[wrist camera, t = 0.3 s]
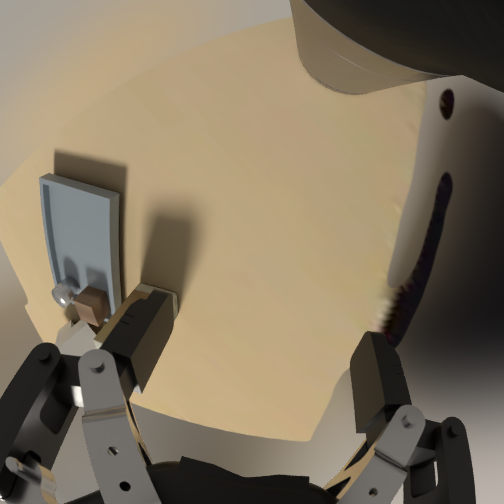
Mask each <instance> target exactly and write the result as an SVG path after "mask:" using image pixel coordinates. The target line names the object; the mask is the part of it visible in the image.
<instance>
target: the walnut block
mask: <svg viewBox="0 0 504 504" xmlns="http://www.w3.org/2000/svg"><path fill="white" fill-rule="evenodd" d="M73 302H74V304H75V307H76V309H77V312H78V315H79V317H80V319H81V320H83V321H85V322H88V323H90V324H93V325H95V326H98V327H99V326H100V325H101V323H102V322H103V321H104V320H105V318H106V317H107V316H108V315H109V313H110V312H111V307H110V304H109V301H108V297H107V294H106V291H103V290H100V289H97V288H94V287H91V286H86V288H85V289H84V290H83V291H82V292H81V293H80V294H79V295H78V296H77V297H76V298H75V299H74V300H73Z"/></svg>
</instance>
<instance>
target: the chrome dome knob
mask: <svg viewBox="0 0 504 504" xmlns="http://www.w3.org/2000/svg"><path fill="white" fill-rule="evenodd" d="M80 292H81V289H80V286H79V284H78V282H77V281H76V280H75V279H74V278H73V277H71V276H67V277H66V278H65V279H63V280H62V281H61V282H60V283H59V284H58V285H57V286H56V287H55V288H54V289H53V290H52V296H53V298H54V300H55V301H56V302H57V303H58V304H59V305H60V306H61V307H63V308H66V307H67V306H68V305H69V304H70V303H71V301H72V300H73V299H74V298H75V297H76V296H77V295H78V294H79V293H80Z"/></svg>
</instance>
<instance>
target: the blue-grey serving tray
mask: <svg viewBox="0 0 504 504" xmlns="http://www.w3.org/2000/svg"><path fill="white" fill-rule="evenodd" d="M39 180H40V196H41V207H42V217H43V225H44V232H45V239H46V245H47V250H48V256H49V261H50V266H51V271H52V275H53V279H54V284H55V287H56V286H57V285H58V284H59V283H60V282H61V281H62V280H63V279H65V278H66V277H67V276H71V277H73V278H74V279H75V280H76V281H77V282H78V284H79V286H80V289H81V292H82V291H83V290H84V289H85V288H86V286H91V287H94V288H97V289H100V290H103V291H106V294H107V297H108V301H109V304H110V307H111V312H110V313H109V315H108V316H107V317H106V318H105V320H104V321H106V322H107V321H108V320H109V319H110V318H111V317H112V315H113V314H114V313H115V312H116V310H117V309H118V308H119V307H120V306H121V304H122V301H121V288H120V272H119V193H116V192H113V191H110V190H106V189H103V188H99V187H96V186H92V185H89V184H85V183H82V182H78V181H75V180H71V179H68V178H64V177H61V176H57V175H54V174H50V173H48V174H46V175H44V176H42V177H39ZM81 292H80V293H81ZM80 293H79V294H80ZM79 294H78V295H79ZM78 295H77V296H78ZM77 296H76V297H77ZM76 297H75V298H76ZM75 298H74V299H75ZM74 299H73V300H74ZM73 300H72V301H71V303H72V304H74V302H73ZM74 305H75V304H74Z"/></svg>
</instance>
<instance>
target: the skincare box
mask: <svg viewBox="0 0 504 504" xmlns="http://www.w3.org/2000/svg"><path fill="white" fill-rule="evenodd" d="M154 289H156V290H160V291H164V292H167V293H171V294H172V296H173V312H174V320H175V319H176V317H177V316H178V305H177V295H176V293H174V292H170V291H167V290H164V289H160V288H157V287H153V286H149V285H146V284H142V283H139V285H138V286H137V287H136V288H135V289H134V290H133V292H132V293H131V294H130V295H129V296H128V297H127V299H126V300H125V301H124V302H123V303H122V304H121V306H120V307H119V308H118V309H117V310H116V312H115V313H114V314H113V315H112V317H111V318H110V319H109V320H108V321H107V323H106V324H105V325H104V326H103V328H102V329H101V330H100V331H99V333H98V334H97V335H96V336H95V338H94V339H93V341H94V344H95V346H96V349H99V348H100V347H101V345H102V344H103V342H104V341H105V339H106V338H107V337H108V335H109V334H110V332H111V331H112V329H113V328H114V327H115V325H116V324H117V322H119V320H120V318H121V317H122V315H124V313H125V311H126V310H127V309H128V307H129V306H130V304H132V303H134V302H135V301H137V300H138V299H140V298H141V299H145V300H146V299H147V298H148V296H149V295H150V294H151V292H152V291H153V290H154Z"/></svg>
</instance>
